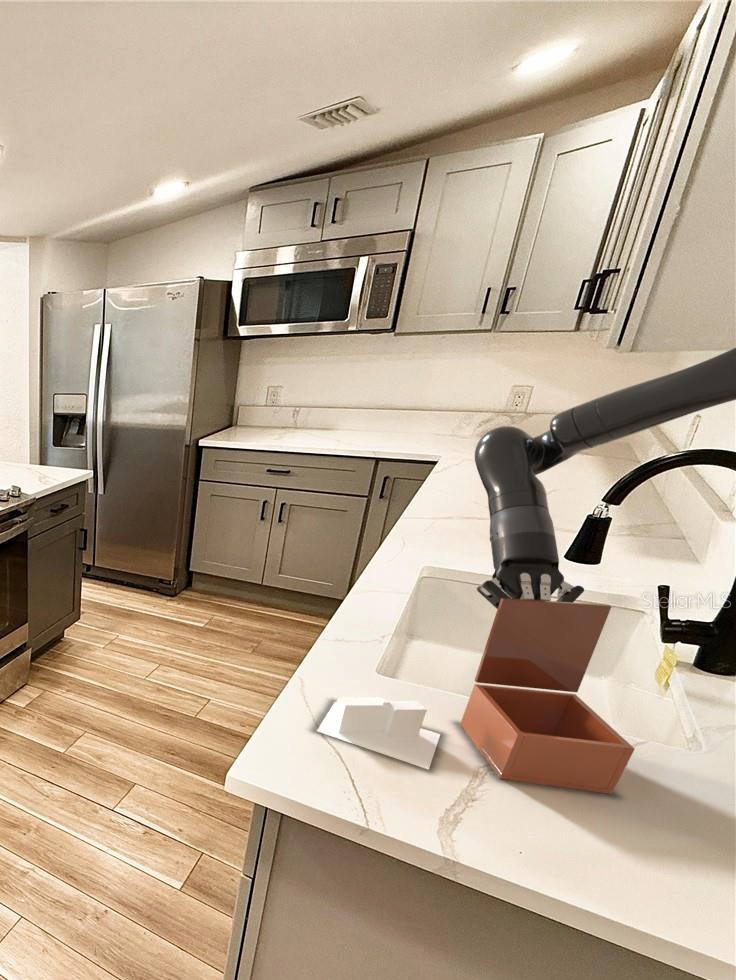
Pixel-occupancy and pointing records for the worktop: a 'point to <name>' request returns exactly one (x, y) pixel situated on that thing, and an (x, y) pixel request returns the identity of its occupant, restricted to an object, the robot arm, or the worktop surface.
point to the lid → (541, 644)
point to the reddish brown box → (545, 738)
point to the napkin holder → (383, 727)
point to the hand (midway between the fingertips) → (536, 642)
